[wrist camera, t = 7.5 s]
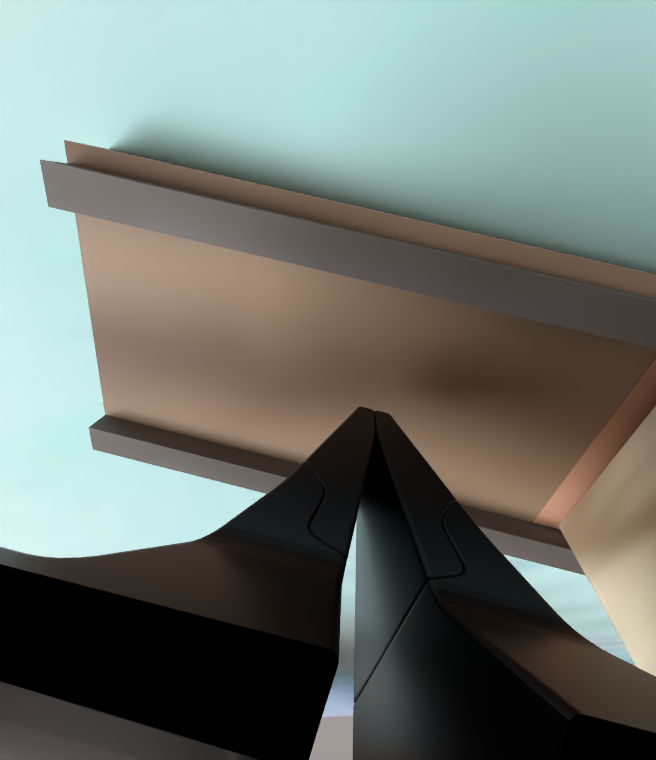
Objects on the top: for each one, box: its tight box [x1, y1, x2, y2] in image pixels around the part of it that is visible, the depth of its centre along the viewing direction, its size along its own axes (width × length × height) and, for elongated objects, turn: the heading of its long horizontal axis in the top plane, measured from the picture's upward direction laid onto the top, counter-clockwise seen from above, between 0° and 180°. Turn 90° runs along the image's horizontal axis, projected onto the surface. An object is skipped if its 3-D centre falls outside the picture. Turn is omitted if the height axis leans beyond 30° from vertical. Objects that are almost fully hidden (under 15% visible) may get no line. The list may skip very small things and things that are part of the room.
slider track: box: [40, 140, 656, 575], centre depth 10 cm, size 10×30×4 cm, turn 78°
